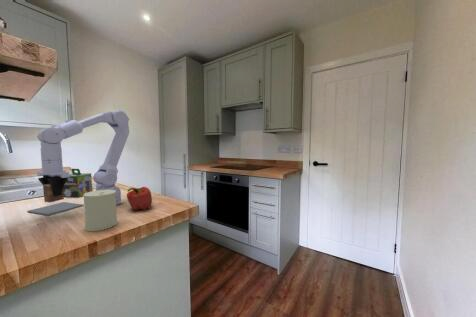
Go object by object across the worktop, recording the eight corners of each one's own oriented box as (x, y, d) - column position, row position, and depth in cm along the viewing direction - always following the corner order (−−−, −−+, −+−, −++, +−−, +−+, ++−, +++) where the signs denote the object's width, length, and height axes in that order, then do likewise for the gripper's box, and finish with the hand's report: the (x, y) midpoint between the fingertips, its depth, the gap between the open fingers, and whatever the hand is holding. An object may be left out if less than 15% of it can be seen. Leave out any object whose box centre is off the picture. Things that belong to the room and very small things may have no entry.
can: (88, 234, 61) (86, 196, 60) (81, 226, 67) (80, 191, 66) (121, 224, 68) (120, 191, 67) (112, 218, 74) (111, 187, 73)
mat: (83, 205, 88) (83, 204, 88) (48, 215, 76) (48, 214, 76) (63, 203, 92) (63, 202, 92) (27, 212, 80) (27, 210, 79)
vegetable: (136, 214, 78) (135, 190, 77) (119, 211, 82) (118, 187, 81) (158, 206, 87) (157, 184, 87) (142, 203, 92) (141, 182, 91)
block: (63, 199, 77) (62, 182, 76) (49, 202, 72) (48, 185, 72) (58, 198, 77) (57, 182, 77) (44, 201, 73) (42, 184, 73)
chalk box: (93, 193, 111) (92, 167, 110) (78, 197, 101) (77, 169, 100) (78, 192, 111) (77, 167, 110) (62, 197, 102) (60, 169, 101)
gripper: (25, 160, 72) (28, 196, 73) (52, 161, 68) (55, 199, 69) (48, 159, 79) (51, 192, 80) (74, 159, 75) (76, 194, 76)
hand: (54, 195), depth 75 cm, fingers closed on block, 3 cm apart
